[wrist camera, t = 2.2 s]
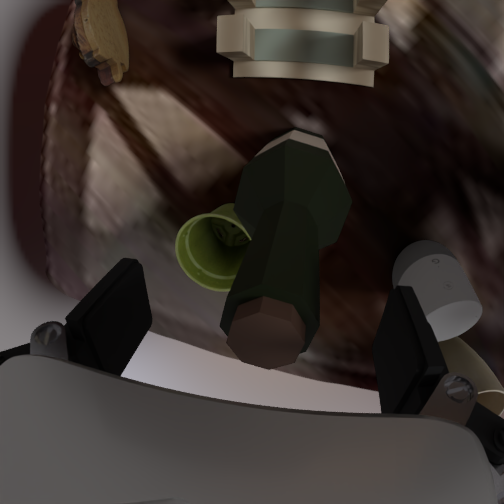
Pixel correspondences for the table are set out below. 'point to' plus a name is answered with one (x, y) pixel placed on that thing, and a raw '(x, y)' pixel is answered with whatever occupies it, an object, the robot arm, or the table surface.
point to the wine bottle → (283, 247)
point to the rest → (305, 39)
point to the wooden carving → (101, 38)
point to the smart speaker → (438, 287)
